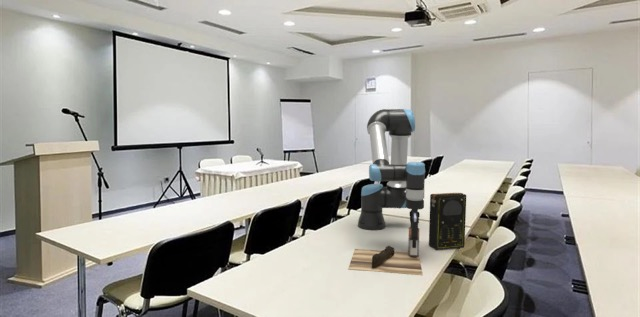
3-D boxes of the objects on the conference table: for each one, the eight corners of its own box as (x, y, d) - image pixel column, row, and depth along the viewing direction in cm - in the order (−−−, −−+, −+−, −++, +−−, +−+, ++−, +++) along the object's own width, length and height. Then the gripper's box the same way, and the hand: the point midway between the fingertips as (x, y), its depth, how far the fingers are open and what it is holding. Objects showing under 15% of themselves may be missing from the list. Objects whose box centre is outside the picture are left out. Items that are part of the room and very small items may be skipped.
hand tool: (386, 253, 159) (386, 243, 159) (394, 255, 157) (394, 245, 157) (365, 267, 144) (365, 256, 144) (375, 270, 142) (375, 258, 141)
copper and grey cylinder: (407, 253, 160) (408, 226, 158) (418, 254, 159) (419, 227, 158) (408, 257, 155) (408, 229, 154) (418, 258, 154) (419, 230, 153)
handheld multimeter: (436, 251, 163) (438, 196, 161) (426, 245, 172) (427, 192, 169) (466, 248, 167) (468, 194, 165) (455, 242, 176) (456, 191, 174)
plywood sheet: (354, 249, 166) (354, 248, 166) (418, 253, 160) (418, 253, 160) (348, 269, 142) (348, 268, 142) (422, 275, 137) (422, 274, 137)
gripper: (405, 194, 164) (403, 245, 166) (406, 202, 147) (404, 259, 149) (422, 195, 163) (421, 246, 165) (425, 203, 145) (424, 260, 148)
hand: (413, 252), depth 157 cm, fingers closed on copper and grey cylinder, 4 cm apart
